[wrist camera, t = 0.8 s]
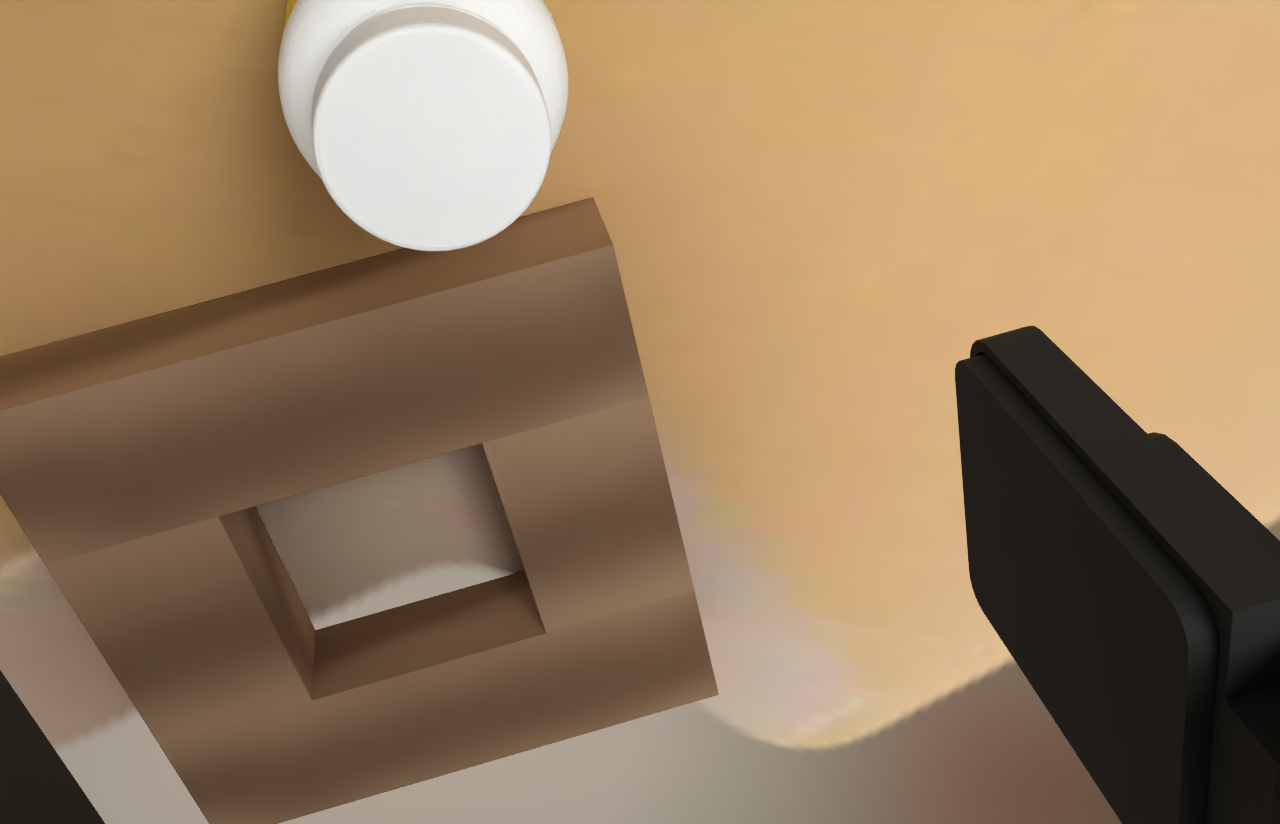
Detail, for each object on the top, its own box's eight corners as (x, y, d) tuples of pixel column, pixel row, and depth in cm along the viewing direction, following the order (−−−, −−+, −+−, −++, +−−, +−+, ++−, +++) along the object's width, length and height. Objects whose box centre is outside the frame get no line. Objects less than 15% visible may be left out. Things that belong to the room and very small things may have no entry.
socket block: (-13, 360, 31) (-45, 423, 29) (592, 197, 32) (613, 244, 29) (228, 765, 40) (219, 840, 37) (696, 630, 41) (718, 694, 38)
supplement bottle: (254, 45, 28) (212, 210, 20) (352, -178, 26) (349, -96, 18) (464, 148, 31) (503, 332, 22) (569, -51, 29) (653, 72, 20)
